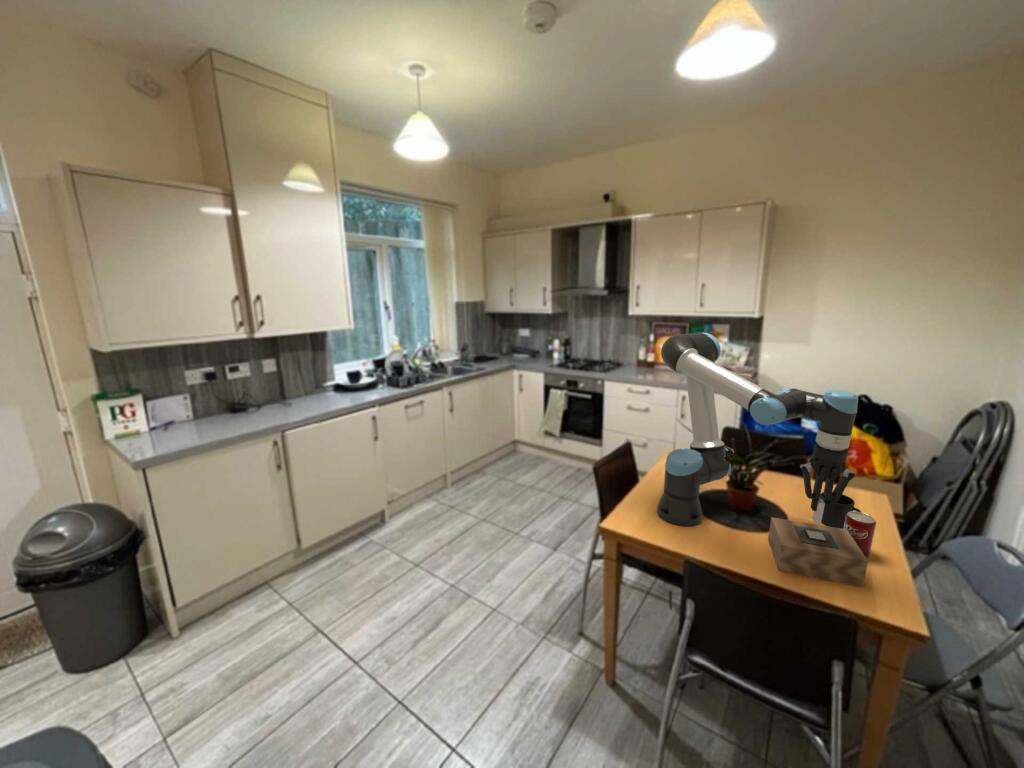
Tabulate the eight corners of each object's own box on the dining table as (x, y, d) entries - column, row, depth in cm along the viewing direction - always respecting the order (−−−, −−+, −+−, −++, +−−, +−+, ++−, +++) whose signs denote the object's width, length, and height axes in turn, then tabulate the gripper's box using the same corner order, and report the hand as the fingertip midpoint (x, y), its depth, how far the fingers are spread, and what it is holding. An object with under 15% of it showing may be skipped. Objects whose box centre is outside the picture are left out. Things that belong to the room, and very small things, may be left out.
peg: (805, 561, 126) (809, 537, 124) (801, 553, 129) (805, 530, 128) (821, 564, 124) (826, 540, 122) (817, 555, 128) (822, 532, 126)
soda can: (857, 561, 127) (864, 525, 124) (833, 547, 134) (840, 512, 131) (875, 556, 129) (883, 521, 126) (850, 543, 135) (857, 509, 133)
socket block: (778, 569, 123) (782, 544, 121) (768, 539, 138) (771, 516, 136) (862, 586, 116) (868, 560, 114) (842, 552, 131) (847, 528, 129)
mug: (859, 535, 139) (864, 510, 137) (815, 523, 147) (819, 499, 145) (859, 522, 147) (864, 498, 145) (817, 511, 154) (821, 488, 152)
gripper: (807, 447, 117) (793, 522, 123) (865, 454, 113) (847, 532, 119) (800, 437, 124) (787, 510, 130) (855, 444, 120) (838, 518, 125)
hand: (816, 520), depth 124 cm, fingers closed
